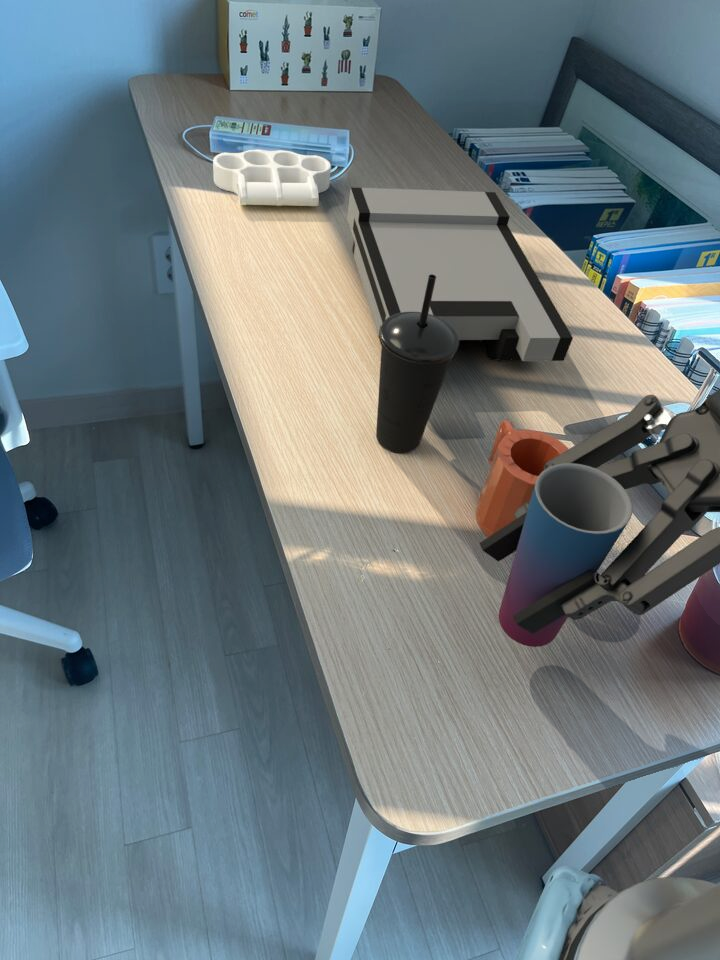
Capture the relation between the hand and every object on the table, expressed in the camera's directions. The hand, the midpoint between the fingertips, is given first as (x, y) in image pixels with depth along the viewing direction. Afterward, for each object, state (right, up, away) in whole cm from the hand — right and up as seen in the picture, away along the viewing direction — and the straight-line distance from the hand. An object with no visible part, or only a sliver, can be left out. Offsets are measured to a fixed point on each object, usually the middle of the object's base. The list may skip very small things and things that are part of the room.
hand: (505, 587), depth 58 cm
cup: (+3, -4, +5) cm, 6 cm away
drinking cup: (-7, +13, +24) cm, 28 cm away
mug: (+3, +5, +18) cm, 19 cm away
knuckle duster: (-25, +53, +58) cm, 83 cm away
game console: (-1, +31, +42) cm, 52 cm away
